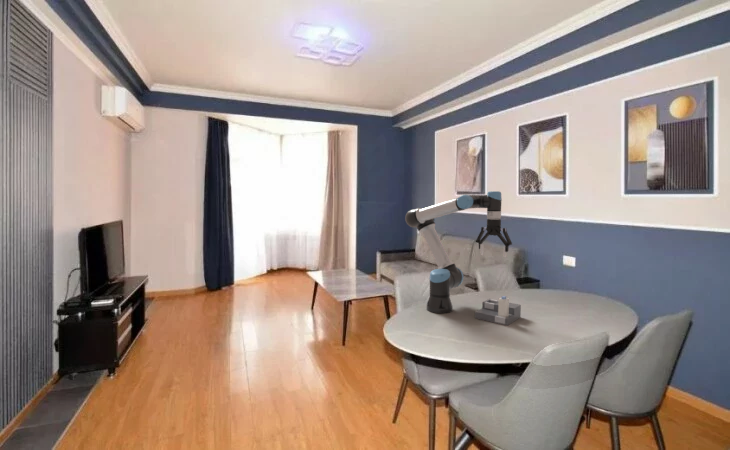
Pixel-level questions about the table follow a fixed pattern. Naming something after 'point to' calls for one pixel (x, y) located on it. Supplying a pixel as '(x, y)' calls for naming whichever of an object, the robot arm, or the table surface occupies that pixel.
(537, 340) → the table surface
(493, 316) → the grey socket holder
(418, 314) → the table surface
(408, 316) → the table surface
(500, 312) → the cream long block
